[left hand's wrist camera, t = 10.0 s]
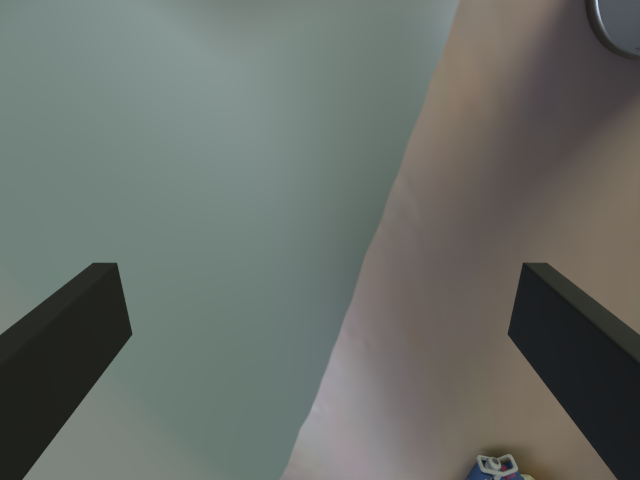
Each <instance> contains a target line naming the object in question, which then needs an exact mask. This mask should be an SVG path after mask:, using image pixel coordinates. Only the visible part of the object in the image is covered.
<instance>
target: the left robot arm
mask: <svg viewBox="0 0 640 480" xmlns="http://www.w3.org/2000/svg"><path fill="white" fill-rule="evenodd" d="M585 3H586V11H587V16H588V20H589V23H590V26H591V28H592V30H593V32H594V34H595V35H596V37H597V38H598V40H599V41H600V42H601V43H602V44H603V45H604V46H605V47H606V48H607V49H609V50H610V51H612V52H613V53H615V54H617V55H620V56H622V57H626V58H631V59H640V0H585ZM131 335H132V330H131V326H130V321H129V316H128V312H127V307H126V302H125V298H124V293H123V289H122V284H121V279H120V275H119V270H118V266H117V263H92V264H91V265H90V266H89V267H87V268H86V269H85V270H83V271H82V272H81V273H79V274H78V275H77V276H76V277H74V278H73V279H72V280H71V281H69V282H68V283H67V284H65V285H64V286H63V287H61V288H60V289H59V290H58V291H56V292H55V293H54V294H52V295H51V296H50V297H49V298H47V299H46V300H45V301H43V302H42V303H41V304H40V305H38V306H37V307H36V308H34V309H33V310H32V311H31V312H29V313H28V314H27V315H25V316H24V317H23V318H22V319H20V320H19V321H18V322H16V323H15V324H14V325H13V326H11V327H10V328H9V329H7V330H6V331H5V332H4V333H2V334H1V335H0V480H22V479H23V478H24V477H25V475H26V474H27V473H28V471H29V470H30V469H31V467H32V466H33V465H34V463H35V462H36V461H37V460H38V458H39V457H40V456H41V454H42V453H43V452H44V450H45V449H46V448H47V446H48V445H49V444H50V442H51V441H52V440H53V438H54V437H55V436H56V434H57V433H58V432H59V430H60V429H61V428H62V426H63V425H64V424H65V423H66V421H67V420H68V419H69V417H70V416H71V415H72V413H73V412H74V411H75V409H76V408H77V407H78V405H79V404H80V403H81V401H82V400H83V399H84V397H85V396H86V395H87V393H88V392H89V391H90V390H91V388H92V387H93V386H94V384H95V383H96V382H97V380H98V379H99V378H100V376H101V375H102V374H103V372H104V371H105V370H106V368H107V367H108V366H109V364H110V363H111V362H112V361H113V359H114V358H115V357H116V355H117V354H118V353H119V351H120V350H121V349H122V347H123V346H124V345H125V343H126V342H127V341H128V339H129V338H130V337H131ZM508 335H509V337H510V338H511V339H512V341H513V342H514V343H515V345H516V346H517V347H518V349H519V350H520V351H521V353H522V354H523V355H524V357H525V358H526V359H527V361H528V362H529V363H530V364H531V366H532V367H533V368H534V370H535V371H536V372H537V374H538V375H539V376H540V378H541V379H542V380H543V382H544V383H545V384H546V386H547V387H548V388H549V390H550V391H551V392H552V394H553V395H554V396H555V397H556V399H557V400H558V401H559V403H560V404H561V405H562V407H563V408H564V409H565V411H566V412H567V413H568V415H569V416H570V417H571V419H572V420H573V421H574V423H575V424H576V425H577V427H578V428H579V429H580V431H581V432H582V433H583V434H584V436H585V437H586V438H587V440H588V441H589V442H590V444H591V445H592V446H593V448H594V449H595V450H596V452H597V453H598V454H599V456H600V457H601V458H602V460H603V461H604V462H605V464H606V465H607V466H608V467H609V469H610V470H611V471H612V473H613V474H614V475H615V477H616V478H617V479H618V480H640V335H639V334H638V333H636V332H635V331H634V330H633V329H631V328H630V327H629V326H627V325H626V324H625V323H624V322H622V321H621V320H620V319H618V318H617V317H616V316H615V315H613V314H612V313H611V312H609V311H608V310H607V309H606V308H604V307H603V306H602V305H600V304H599V303H598V302H597V301H595V300H594V299H593V298H591V297H590V296H589V295H588V294H586V293H585V292H584V291H582V290H581V289H580V288H579V287H577V286H576V285H575V284H573V283H572V282H571V281H570V280H568V279H567V278H566V277H564V276H563V275H562V274H561V273H559V272H558V271H557V270H555V269H554V268H553V267H552V266H550V265H549V264H548V263H523V266H522V270H521V275H520V279H519V284H518V289H517V293H516V298H515V302H514V307H513V312H512V316H511V321H510V326H509V330H508Z"/></svg>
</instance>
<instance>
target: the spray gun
mask: <svg viewBox="0 0 640 480" xmlns="http://www.w3.org/2000/svg"><path fill="white" fill-rule="evenodd" d="M476 459H477V461H478V462H477V464H476V465H475V467H474V468H473V470H472V471H471V473H470V474H469V476H468V478H467V480H535V479H534V478H532V477H531V476H530V475H526V474H520V473H519V471H518V467H517V465H516V463H515V461H514V459H513V457H512V455H510V454H507V455H504V456H502V457H499V458H494V457H487V456H482V455H478V456H477V457H476ZM506 459H511V461H512V462H511V461H508V462H505V463H503V464H502V465H501V464H500V461H503V460H506ZM483 460H486V461H483Z"/></svg>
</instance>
